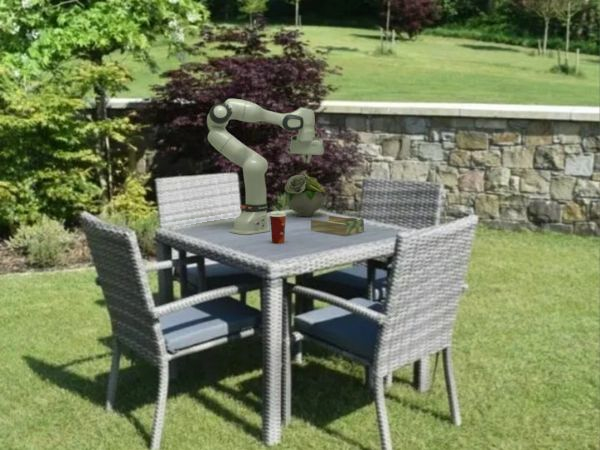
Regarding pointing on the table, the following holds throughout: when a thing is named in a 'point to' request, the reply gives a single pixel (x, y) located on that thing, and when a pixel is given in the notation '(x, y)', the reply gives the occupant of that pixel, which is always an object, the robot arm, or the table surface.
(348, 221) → the walnut block
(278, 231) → the coffee cup
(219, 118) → the robot arm
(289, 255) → the table surface
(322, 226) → the trap track
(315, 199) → the flower arrangement
